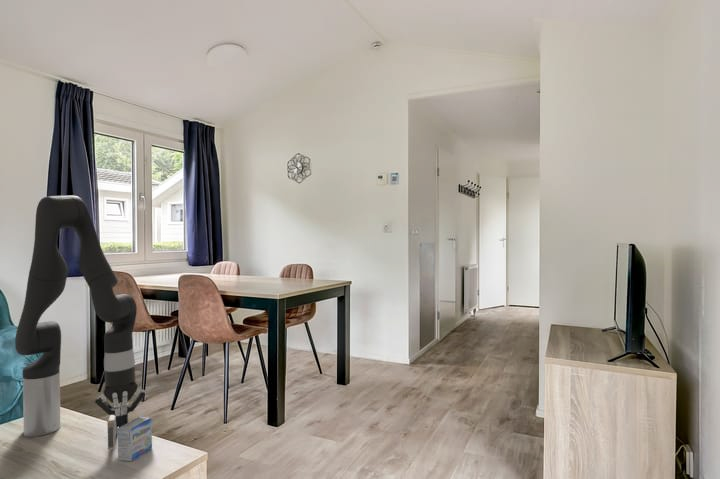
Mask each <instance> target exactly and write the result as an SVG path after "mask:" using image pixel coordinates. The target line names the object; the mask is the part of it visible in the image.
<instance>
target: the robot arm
mask: <svg viewBox="0 0 720 479" xmlns="http://www.w3.org/2000/svg"><path fill="white" fill-rule="evenodd" d="M88 208H89V207H88V206H87V204H86V203H85V201H84V200H83V199H82V198H81V197H80V196H77V195H73V194H72V195H50V196H45V197H42V198H41V199H40V200H39V202H38V204H37V207H36V210H35V211H36V212H35V222H34V223H35V225H34V226H35V227H34V228H35V230H34V242H33V243H34V244H33V248H32V249H33V251H32V256H31V263H30V267H29V272H28V277H27V284H26V291H25V297H24V303H23V308H22V311H21V315H20V319H19V321H18V322H19V323H18V326H17V328H16V334H15V339H14V340H15V342H14V345H15V350H16V352H17V354H18V355H20V356H32V355H37V354H42V355H41V356H40V357H39V358H38V359H36V360H35V361H33V362H32V363H30V364H27V365H26V366H25V367H24V368H23V370H22V400H23V401H22V402H23V404H22V406H23V407H22V409H23V435H24V436H25V437H31V438H33V437H40V436H46V435H48V434H52V433H54V432H56V431H58V430H59V429H60V428H61V381H60V380H61V379H60V377H61V376H60V367H61V350H62V349H61V348H62V330H61V327H60V324H59V323H58V322H57V321H54V320H53V321H51V320H48V321H41V322H40V319H41V317H42V315H43V314H44V313H45V312H46V311H47V310H48V309H49V307H50V306H52V305H53V304H54V303H55V302H56V301H57V299H59V297H60V296H61V295H62V293H63V292H64V290H65V288H66V287H65V286H66V284H67V283H66V282H67V279H68V274H69V273H68V272H69V268H68V265H67V262H66V260H65V258H64V256H63V255H62V254H61V252H60V250H59V248H58V237H59V233H60V230H61V229H69V228H72V229H73V230H74V231H75V233H76V235H77V236H78V239H79V255H78V267H79V271H80V273H81V275H82V277H83V279H84V280H85V282H86V284H87V286H88V288H89V289H90V293H91V299H92V304H93V308H94V312H95V314H96V315H97V317H98V318H99V319H100V320H102V321H103V322H105V323H112V325H111V327H110V328H109V329H108V330H107V331H106V332H105V333H104V338H103V344H104V346H103V349H104V358H103V368H104V370H103V371H104V389H103V392H102V394H101V395H99V396H97V397H96V399H95V400H94V403H95V404H96V405H97V406H98V407H99V408H100V409H102V410H103V411H104V412H105V413H106V414H107V415H108V416H110V415H115V416H116V426H117V427H118V428H119V427H121V426H123V425H125V424H127V423H129V413H131V412H132V413H133V412H134V410H135V409H136V408H137V406H138V405H139V404H140V402H141V401H142V400H143V398H144V396H146V393H147V392H146V390H145V389H141V388H139V387H138V384H137V382H136V368H135V367H136V366H135V365H136V364H135V363H136V360H135V352H134V345H133V344H134V343H133V341H134V340H133V332H134V328H135V323H136V317H137V312H138V311H137V310H138V309H137V303H136V301H135V298H134V297H133V296H131V295H130V294H127V293H121V294H116V295H115V293H114V289H113V288H114V287H116V285H118V284H117V283H118V279H117V276H116V275H115V273H114V272H115V271H113V269H112V267H111V266H110V264H109V261H108V260H107V258H106V255H105V254H104V251H103V249H102V246H101V244H100V241H99V237H98V234H97V231H96V227H95V225H94V222H93V220H92V217H91V213H90V211H89V209H88ZM134 395H135V399H134V400H133V402H132V403H131V404H130V405H129V402H130V400H131V399H132V398H133V396H134ZM107 399H108V400H109V401H110V403H112V404H113V405H110V403H109V402H107ZM121 404H122V405H121ZM112 406H114V408H113V407H112Z"/></svg>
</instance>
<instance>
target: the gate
mask: <svg viewBox="0 0 720 479" xmlns="http://www.w3.org/2000/svg"><path fill="white" fill-rule="evenodd" d="M116 433H117V432H116V416H115V415H109V418H108V421H107V450H113V449H115V440H116V438H117V437H116Z"/></svg>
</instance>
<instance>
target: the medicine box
mask: <svg viewBox="0 0 720 479" xmlns="http://www.w3.org/2000/svg"><path fill="white" fill-rule="evenodd" d="M152 420H153V419H152V418H151V417H147V416H138V417H136V418H135V419H132V420H130V421H128V423H127V424H125V425H123V426H121V427H118V428H117V437H116V438H117V460H119V461H124V462H133V461H135V460H137V459H138V458H139V457H141V456H142V455H143V454H145V453H146V452H148V451H150V450H151V449H153V434H152V432H153V431H152V430H153V428H152Z"/></svg>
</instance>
